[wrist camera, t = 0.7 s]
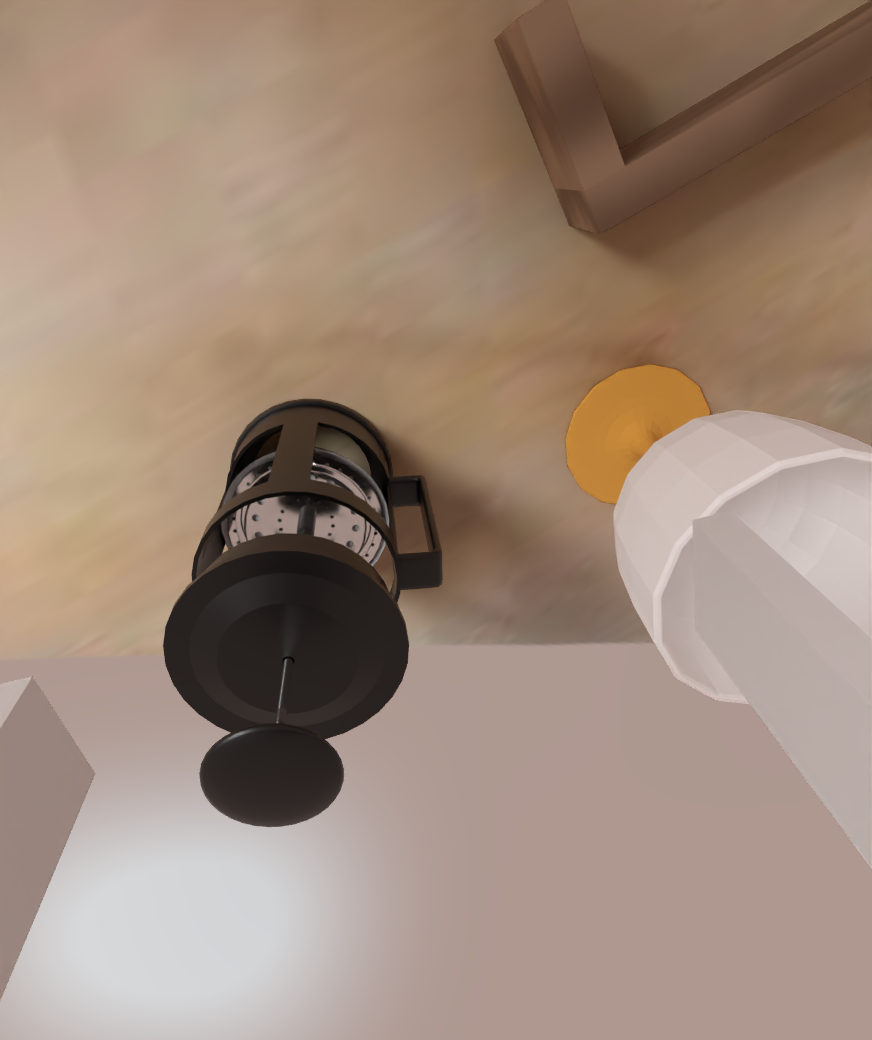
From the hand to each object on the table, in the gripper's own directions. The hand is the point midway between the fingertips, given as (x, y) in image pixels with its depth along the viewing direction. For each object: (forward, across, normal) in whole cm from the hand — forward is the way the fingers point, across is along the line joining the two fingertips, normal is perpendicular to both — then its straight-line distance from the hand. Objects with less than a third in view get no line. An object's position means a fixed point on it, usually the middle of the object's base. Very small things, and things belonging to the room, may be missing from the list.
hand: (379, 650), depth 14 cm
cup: (+27, +15, -9) cm, 32 cm away
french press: (+27, -4, -7) cm, 28 cm away
